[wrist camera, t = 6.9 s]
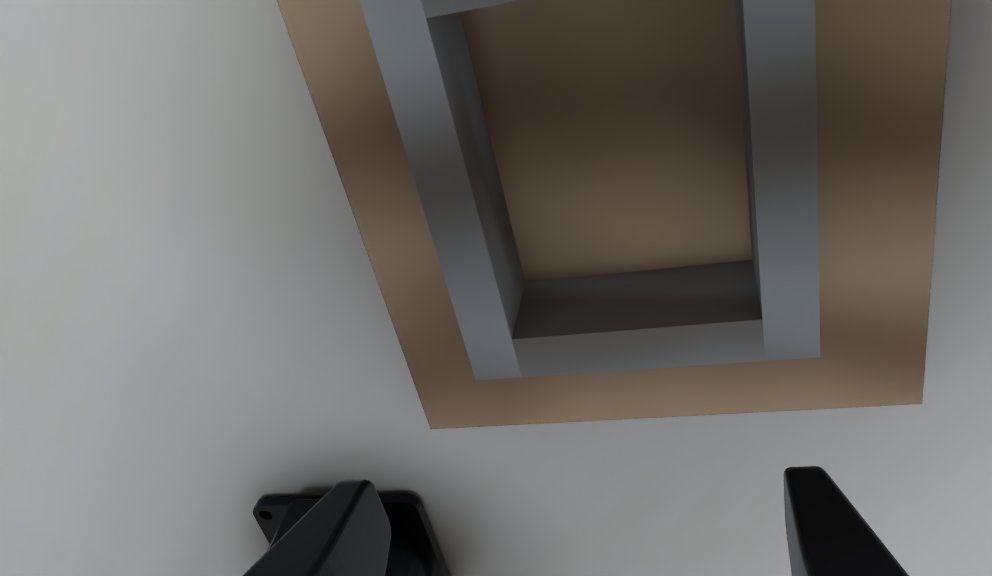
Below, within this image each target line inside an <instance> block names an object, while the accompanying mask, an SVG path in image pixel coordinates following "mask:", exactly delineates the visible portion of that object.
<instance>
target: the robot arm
mask: <svg viewBox="0 0 992 576" xmlns="http://www.w3.org/2000/svg"><path fill="white" fill-rule="evenodd" d="M784 502H785V523H786V533H787V541H788V548H789V556H790V564H791V572H792V576H909V575H908V574H907V573H906V571H905V570H904V569H903V568H902V566H901V565H900V564H899V563H898V561H897V560H896V559H895V558H894V556H893V555H892V554H891V553H890V551H889V550H888V549H887V548H886V546H885V545H884V544H883V543H882V541H881V540H880V539H879V538H878V536H877V535H876V534H875V533H874V531H873V530H872V529H871V528H870V526H869V525H868V524H867V523H866V521H865V520H864V519H863V518H862V516H861V515H860V514H859V512H858V511H857V510H856V509H855V507H854V506H853V505H852V504H851V502H850V501H849V500H848V499H847V497H846V496H845V495H844V494H843V492H842V491H841V490H840V489H839V487H838V486H837V485H836V484H835V482H834V481H833V480H832V479H831V477H830V476H829V475H828V474H827V472H826V471H825V470H824V469H822V468H820V467H817V466H810V467H789V468H787V469H786V470H785V471H784ZM253 514H254V517H255V518H256V520H257V522H258V524H259V526H260V527H261V529H262V531H263V533H264V535H265V536H266V538H267V540H268V542H269V544H270V546H269V548H268V550H267V552H266V553H265V554H264V555H263V556H262V557H261V558H260V559H259V560H258V561H257V562H256V563H255V564H254V565H253V566H252V567H251V568H250V569H249V570H248V571H247V572H246V573H245V574H244V575H243V576H450V575H449V572H448V570H447V567H446V565H445V562H444V559H443V557H442V554H441V552H440V549H439V547H438V544H437V542H436V539H435V537H434V534H433V531H432V529H431V526H430V524H429V521H428V519H427V516H426V514H425V511H424V509H423V506H422V503H421V502H420V500H419V499H418V498H417V497H415V496H414V495H411V494H407V493H394V494H378V493H377V491H376V488H375V486H374V484H373V483H372V482H370V481H369V480H344V481H341V482H339V483H337V484H336V485H335V486H334V487H333V488H332V489H331V490H330V491H329V492H328V493H327V494H326V495H325V496H297V497H265V498H261V499H259V500H258V502H257V503H256V505H255V507H254V510H253Z"/></svg>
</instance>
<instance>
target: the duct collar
mask: <svg viewBox="0 0 992 576" xmlns="http://www.w3.org/2000/svg"><path fill="white" fill-rule="evenodd" d="M277 2H278V5H279V8H280V11H281V14H282V16H283V19H284V22H285V25H286V27H287V30H288V33H289V36H290V39H291V41H292V44H293V47H294V50H295V53H296V55H297V58H298V61H299V64H300V66H301V69H302V72H303V75H304V78H305V80H306V83H307V86H308V89H309V92H310V94H311V97H312V100H313V103H314V105H315V108H316V111H317V114H318V117H319V119H320V122H321V125H322V128H323V131H324V133H325V136H326V139H327V142H328V144H329V147H330V150H331V153H332V156H333V158H334V161H335V164H336V167H337V170H338V172H339V175H340V178H341V181H342V183H343V186H344V189H345V192H346V195H347V197H348V200H349V203H350V206H351V208H352V211H353V214H354V217H355V220H356V222H357V225H358V228H359V231H360V234H361V236H362V239H363V242H364V245H365V247H366V250H367V253H368V256H369V259H370V261H371V264H372V267H373V270H374V273H375V275H376V278H377V281H378V284H379V286H380V289H381V292H382V295H383V298H384V300H385V303H386V306H387V309H388V312H389V314H390V317H391V320H392V323H393V325H394V328H395V331H396V334H397V337H398V339H399V342H400V345H401V348H402V351H403V353H404V356H405V359H406V362H407V364H408V367H409V370H410V373H411V376H412V378H413V381H414V384H415V387H416V390H417V392H418V395H419V398H420V401H421V403H422V406H423V409H424V412H425V415H426V417H427V420H428V423H429V426H430V429H445V428H464V427H483V426H503V425H522V424H541V423H561V422H580V421H599V420H618V419H638V418H657V417H676V416H696V415H715V414H734V413H753V412H773V411H792V410H811V409H831V408H850V407H869V406H888V405H908V404H922V398H923V384H924V370H925V357H926V343H927V329H928V315H929V301H930V288H931V274H932V260H933V246H934V233H935V219H936V205H937V191H938V178H939V164H940V150H941V136H942V122H943V109H944V95H945V81H946V67H947V54H948V40H949V26H950V12H951V0H277Z"/></svg>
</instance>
